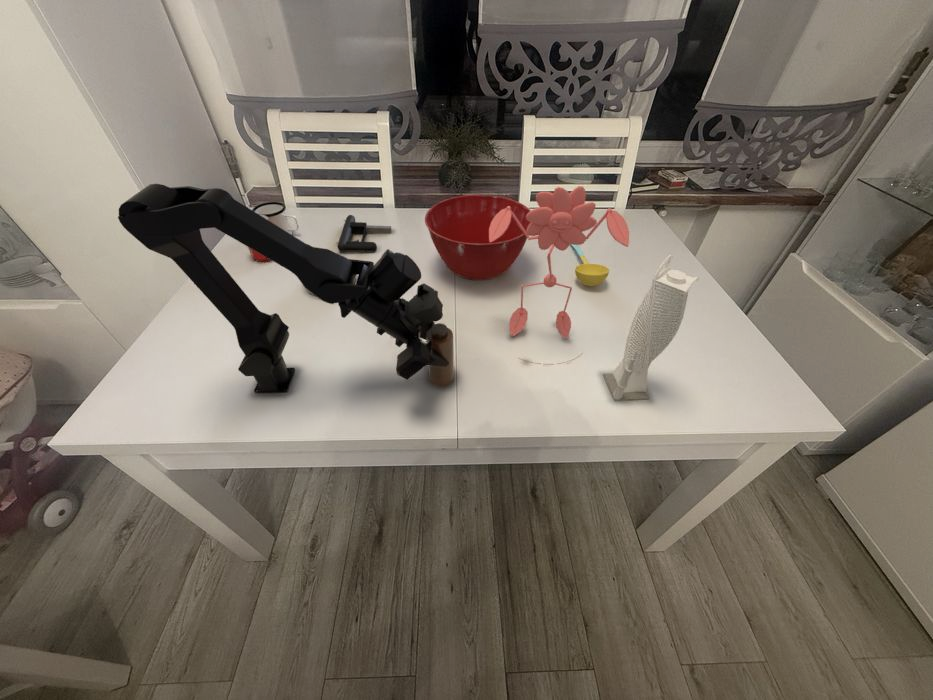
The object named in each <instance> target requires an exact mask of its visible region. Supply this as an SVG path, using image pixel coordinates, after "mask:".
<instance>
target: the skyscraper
mask: <svg viewBox="0 0 933 700" xmlns="http://www.w3.org/2000/svg"><path fill="white" fill-rule="evenodd" d="M672 258H673V253H671V254H669V255H667V257H666V258H665V259H664V260H663V261H662V263H661V264H660V265H659V267H658V269H657V270H656V272H655V274H654V276H653V277H652V281H651V285H650V287H649V289H648V290H647V292H646V293H645V295H644V297H643V298H642V300H641V302H640V304H639V306H638V307H637V310H636V312H635V314H634V316H633V319H632V321H631V325H630V326H629V327H630V328H629V330H628V335H627V338H626V342H625V346H624V347H625V348H624V353H623V357H622V359H621V360H620V361H619V362H618V364H617V366H616V367H615V368H614V370H612V372H611V373H603V374H602V377H603V379H604V381H605V384H606V386H607V388H608V390H609V393H610V395H611V398H612V400H613V402H625V401H627V402H629V401H648V400H650V397H649V395H648V393H647V384H648V372H649V368H650V367H651V366H650V365H651V364H652V362H653V361H654V360H655V359H657V358H658V356H660V355H661V354H663V352H664V351H665V350H666V349H667V348H668V346H669V345H670V344H671V342H672V341H673V340H674V338H675V337H676V335H677V333H678V331H679V329H680V328H681V324H682V322H683V319H684V314H685V311H686V307H687V302H688V297H689V292H690V291H691V289H692V288H693V286H694V285H695V284H696V282H697V283H698V281H699V279H700V275H697V276H695V277H693V276H690V275H687V274H686V273H685V272H684V271H681V270H678V269H671V268H668V267H669V265H670V263H671V260H672Z"/></svg>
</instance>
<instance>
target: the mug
mask: <svg viewBox="0 0 933 700" xmlns="http://www.w3.org/2000/svg"><path fill="white" fill-rule="evenodd" d="M286 208H287V207H286V205H285V204H284V203H283V202H279V201H268V202H267V201H266V202H263V203H260V204H257V205H255V206H254V207H253V208H252V209H251V210H252V211H254V212H256V213H257V214H260V215H265V216H267V217H268V219H269V221H270V222H272V223H273V224H275V225H276V226H278V227H280V228H281V229H283V230H285V231H286V232H288V233H289V234H291V235H293V232H292V231H298V230H299V228H300V225H299V222H298V219H297V216H296V215H294V214H287V213H286ZM289 218H293V220H294V221H295V224H296V227H291V225H290V222H289V220H288V219H289Z"/></svg>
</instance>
